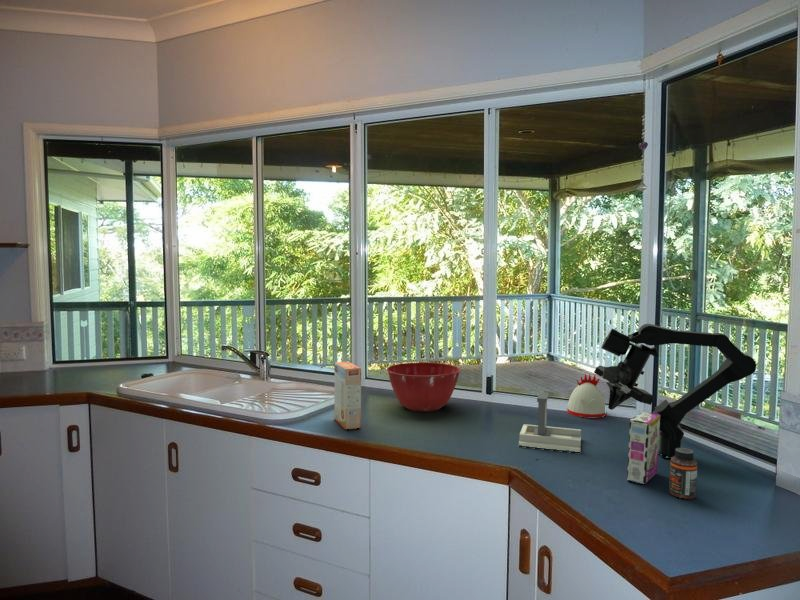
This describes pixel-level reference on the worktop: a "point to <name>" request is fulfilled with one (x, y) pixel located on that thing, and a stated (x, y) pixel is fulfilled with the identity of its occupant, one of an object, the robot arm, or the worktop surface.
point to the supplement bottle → (683, 474)
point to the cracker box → (347, 395)
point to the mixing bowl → (423, 384)
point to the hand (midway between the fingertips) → (610, 409)
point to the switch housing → (551, 438)
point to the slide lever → (542, 415)
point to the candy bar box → (643, 447)
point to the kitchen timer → (587, 399)
